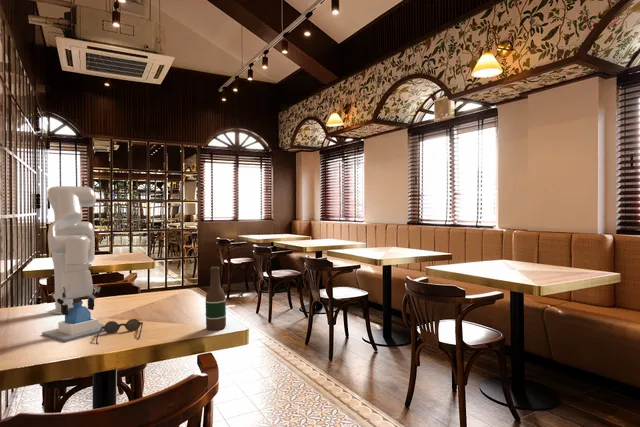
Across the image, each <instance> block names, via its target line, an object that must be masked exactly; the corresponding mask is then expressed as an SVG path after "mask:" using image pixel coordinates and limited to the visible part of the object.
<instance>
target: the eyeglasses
mask: <svg viewBox="0 0 640 427" xmlns="http://www.w3.org/2000/svg"><path fill="white" fill-rule="evenodd" d="M143 325H144V321H140V320H138V319H137V318H130V319H129V320H128V321H126V323H120V324H119V323H118V322H117V321H113V320H112V321H107V322H106V324H105V326H102V327H101V329H100V330H99V332H98V334H96V339H95V344H96V345H100V343H98V339H99V336H100V334H101V333H100V332H101V330H102V329H104V330H105V331H106V332H105V333H106V334H113V333H117V332H118V331H119V330H120V327H121V326H124V328H125V329H126V331H137V330H139V329H140V330H139V334H138V338H137V339H136V341H138V340H140V338H141V333H142V329H143Z"/></svg>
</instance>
